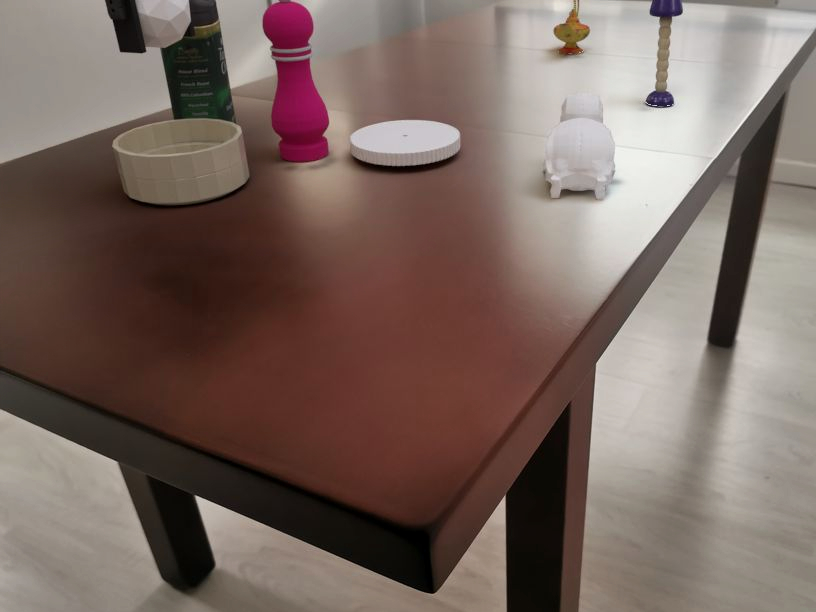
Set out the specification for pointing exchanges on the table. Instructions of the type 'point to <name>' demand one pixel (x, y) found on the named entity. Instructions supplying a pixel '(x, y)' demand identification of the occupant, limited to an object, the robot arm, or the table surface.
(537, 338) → the table surface
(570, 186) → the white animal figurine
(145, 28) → the geometric ball
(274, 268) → the table surface
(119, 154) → the bowl
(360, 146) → the plastic lid
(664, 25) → the toy lamp
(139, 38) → the robot arm
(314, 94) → the pepper mill
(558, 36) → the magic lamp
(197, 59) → the coffee jar
